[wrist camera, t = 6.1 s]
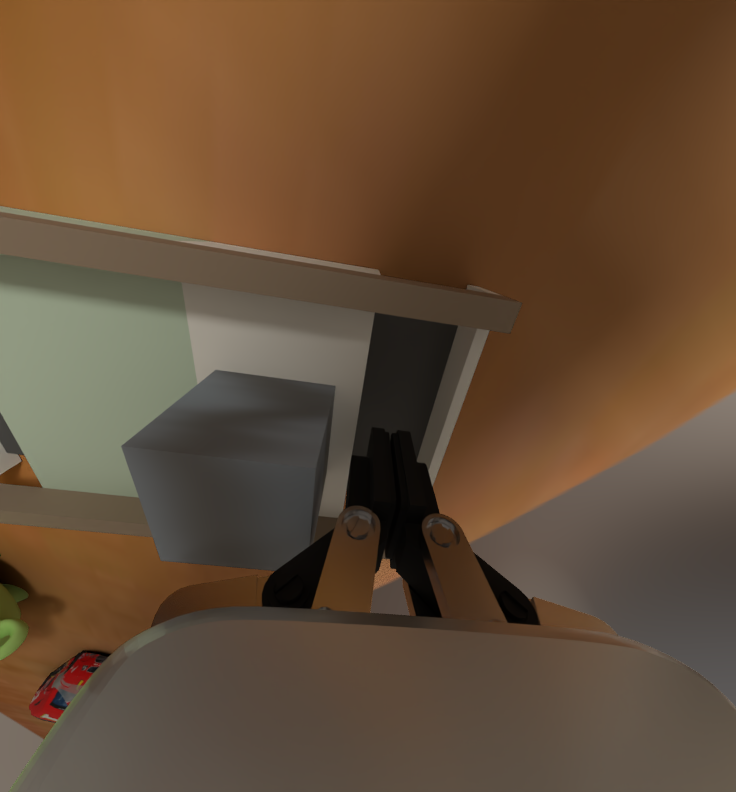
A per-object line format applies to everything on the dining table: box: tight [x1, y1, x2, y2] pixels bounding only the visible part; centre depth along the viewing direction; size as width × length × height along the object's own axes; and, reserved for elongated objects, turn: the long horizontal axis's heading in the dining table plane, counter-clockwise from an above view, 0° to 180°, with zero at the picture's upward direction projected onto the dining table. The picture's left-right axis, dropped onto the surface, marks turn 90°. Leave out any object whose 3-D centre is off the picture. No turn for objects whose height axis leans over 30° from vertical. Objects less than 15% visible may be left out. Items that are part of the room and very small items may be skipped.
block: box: [121, 370, 336, 571], centre depth 11 cm, size 5×5×5 cm
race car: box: [29, 650, 108, 723], centre depth 31 cm, size 13×5×4 cm, turn 131°
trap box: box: [0, 206, 522, 559], centre depth 13 cm, size 25×14×4 cm, turn 81°
